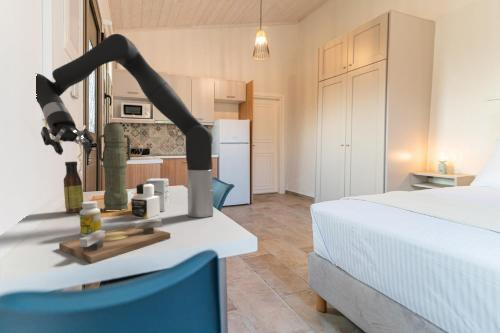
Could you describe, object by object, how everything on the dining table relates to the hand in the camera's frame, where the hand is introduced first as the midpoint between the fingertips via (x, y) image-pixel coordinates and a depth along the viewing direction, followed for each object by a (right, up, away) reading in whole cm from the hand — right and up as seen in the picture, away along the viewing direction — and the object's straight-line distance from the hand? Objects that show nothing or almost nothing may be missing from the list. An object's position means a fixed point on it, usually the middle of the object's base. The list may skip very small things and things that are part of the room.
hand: (75, 152), depth 95 cm
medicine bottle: (+17, -23, +15) cm, 32 cm away
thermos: (+1, -22, +26) cm, 34 cm away
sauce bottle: (-13, -22, +21) cm, 34 cm away
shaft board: (+21, -25, -16) cm, 36 cm away
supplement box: (+19, -22, +25) cm, 38 cm away
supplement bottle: (+9, -25, -8) cm, 27 cm away
